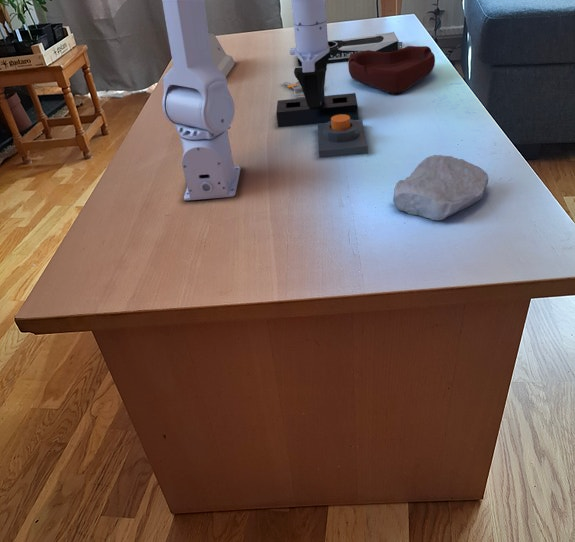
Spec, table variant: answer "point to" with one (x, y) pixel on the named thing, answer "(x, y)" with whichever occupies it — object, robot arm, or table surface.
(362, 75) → the ashtray
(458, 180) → the stone block
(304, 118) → the holder
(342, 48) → the graphics card
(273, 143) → the table surface
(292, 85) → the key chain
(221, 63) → the hinge
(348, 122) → the power button
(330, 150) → the station
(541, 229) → the table surface
